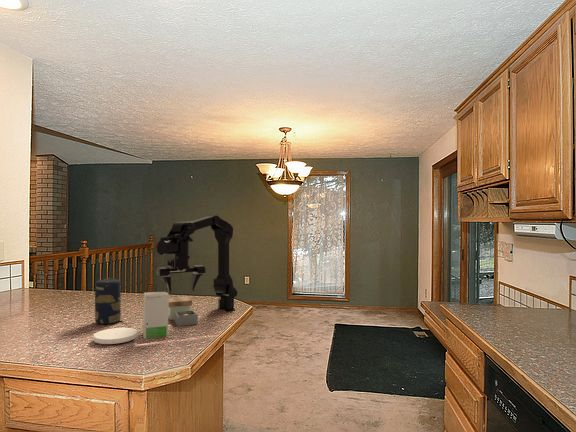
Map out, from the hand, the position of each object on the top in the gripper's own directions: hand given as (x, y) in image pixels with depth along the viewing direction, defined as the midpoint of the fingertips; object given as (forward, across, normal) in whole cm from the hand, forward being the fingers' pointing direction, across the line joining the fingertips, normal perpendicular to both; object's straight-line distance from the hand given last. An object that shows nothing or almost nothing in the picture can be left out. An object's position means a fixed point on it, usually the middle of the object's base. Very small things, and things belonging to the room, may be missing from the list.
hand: (181, 291), depth 161 cm
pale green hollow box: (+12, -1, -8) cm, 15 cm away
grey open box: (+12, -1, +3) cm, 13 cm away
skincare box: (+13, +14, +14) cm, 23 cm away
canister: (+13, +25, -16) cm, 32 cm away
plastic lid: (+13, +26, +10) cm, 31 cm away
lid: (+6, -1, -8) cm, 10 cm away
